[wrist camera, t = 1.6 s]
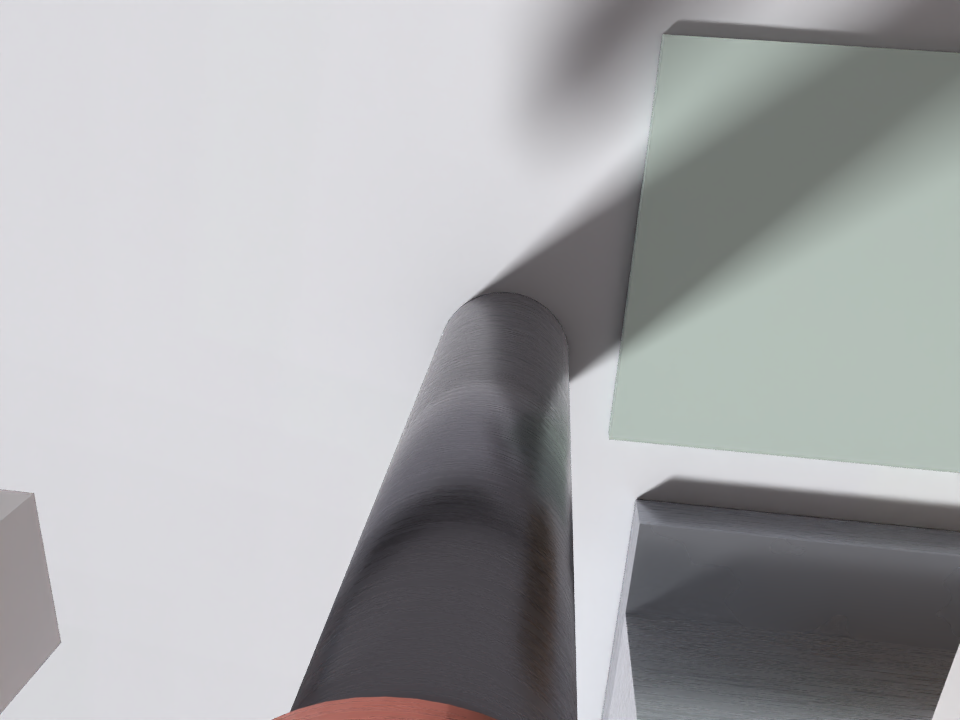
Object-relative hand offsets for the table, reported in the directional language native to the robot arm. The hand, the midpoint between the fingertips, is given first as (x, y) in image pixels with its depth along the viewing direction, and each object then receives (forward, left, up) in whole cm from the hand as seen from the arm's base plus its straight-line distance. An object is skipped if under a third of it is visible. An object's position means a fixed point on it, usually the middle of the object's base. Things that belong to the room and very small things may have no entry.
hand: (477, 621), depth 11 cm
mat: (+8, +3, -10) cm, 13 cm away
